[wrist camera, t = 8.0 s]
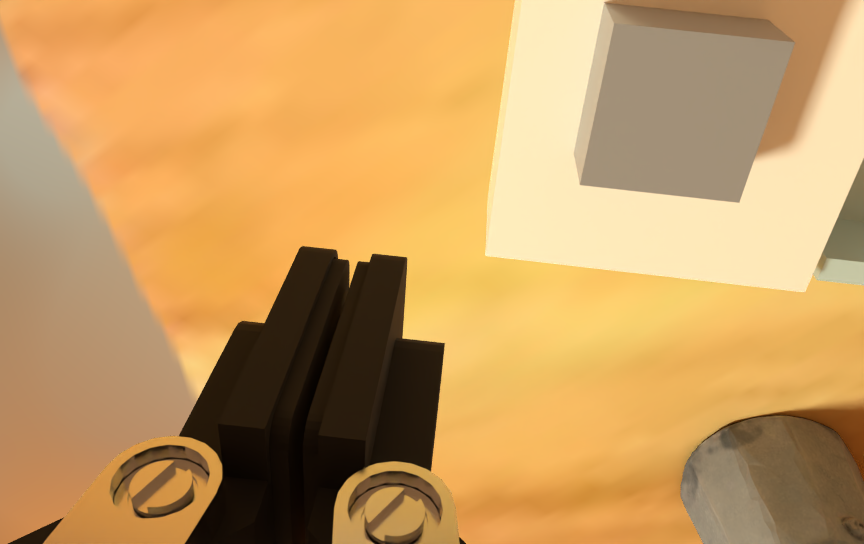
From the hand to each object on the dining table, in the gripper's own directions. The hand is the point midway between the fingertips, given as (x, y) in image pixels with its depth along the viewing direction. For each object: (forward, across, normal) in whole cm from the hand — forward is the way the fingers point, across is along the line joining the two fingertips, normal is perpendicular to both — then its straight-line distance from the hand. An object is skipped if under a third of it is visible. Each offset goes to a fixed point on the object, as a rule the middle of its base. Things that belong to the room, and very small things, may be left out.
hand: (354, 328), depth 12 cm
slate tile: (+14, -8, 0) cm, 16 cm away
